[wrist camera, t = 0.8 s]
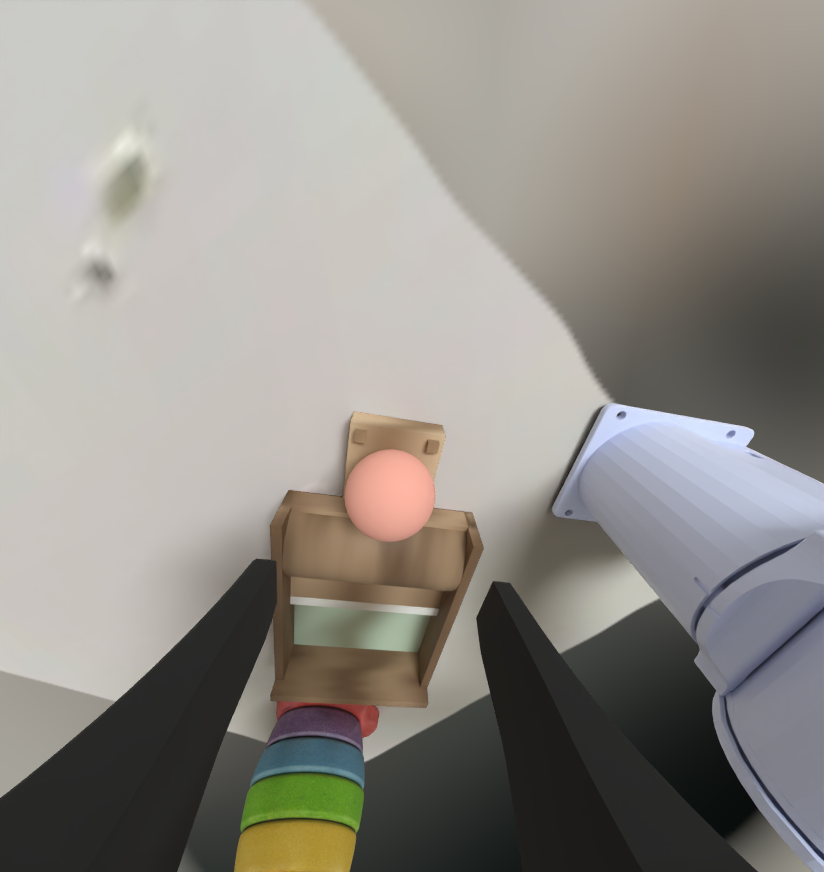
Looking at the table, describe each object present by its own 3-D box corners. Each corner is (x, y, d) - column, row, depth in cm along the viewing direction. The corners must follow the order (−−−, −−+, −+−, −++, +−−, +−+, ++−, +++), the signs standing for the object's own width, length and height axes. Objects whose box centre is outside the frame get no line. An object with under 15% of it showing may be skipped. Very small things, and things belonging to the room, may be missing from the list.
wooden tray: (464, 486, 23) (488, 562, 17) (420, 620, 30) (426, 707, 24) (302, 464, 21) (262, 539, 15) (298, 610, 29) (270, 700, 23)
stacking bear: (380, 719, 33) (362, 1114, 18) (288, 723, 33) (184, 1129, 17) (375, 667, 28) (344, 1150, 13) (267, 671, 28) (94, 1173, 12)
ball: (438, 440, 16) (451, 492, 12) (422, 504, 18) (428, 567, 14) (355, 428, 15) (340, 477, 12) (348, 495, 17) (332, 557, 13)
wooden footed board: (442, 425, 17) (446, 440, 15) (424, 494, 19) (426, 513, 18) (354, 411, 17) (349, 425, 15) (346, 484, 19) (341, 503, 17)
